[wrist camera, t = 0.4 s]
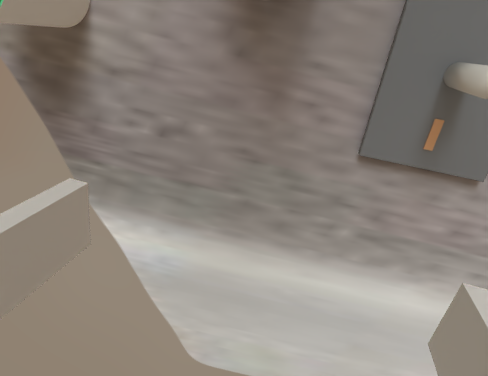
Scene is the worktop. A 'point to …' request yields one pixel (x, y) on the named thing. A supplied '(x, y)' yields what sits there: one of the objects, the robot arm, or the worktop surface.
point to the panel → (435, 91)
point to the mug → (43, 12)
